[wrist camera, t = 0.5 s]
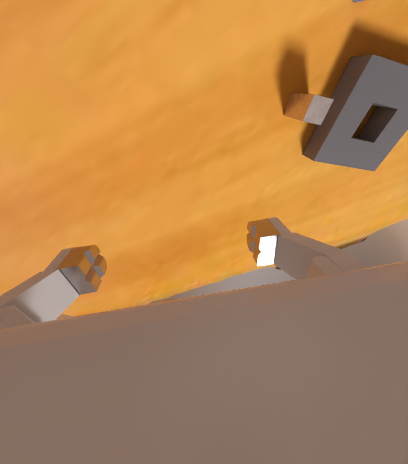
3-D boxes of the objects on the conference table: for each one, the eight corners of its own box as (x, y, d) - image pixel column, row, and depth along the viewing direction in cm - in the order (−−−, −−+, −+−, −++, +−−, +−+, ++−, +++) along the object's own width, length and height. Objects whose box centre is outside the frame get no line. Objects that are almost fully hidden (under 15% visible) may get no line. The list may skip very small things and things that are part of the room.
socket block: (351, 57, 34) (372, 54, 30) (420, 79, 37) (447, 78, 34) (302, 154, 45) (313, 160, 41) (359, 164, 49) (374, 171, 45)
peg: (292, 92, 37) (314, 94, 30) (308, 96, 37) (334, 99, 31) (283, 115, 39) (302, 121, 33) (299, 118, 40) (320, 125, 34)
